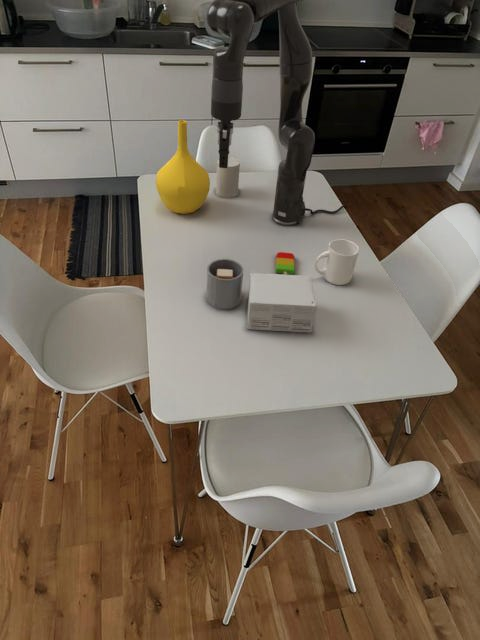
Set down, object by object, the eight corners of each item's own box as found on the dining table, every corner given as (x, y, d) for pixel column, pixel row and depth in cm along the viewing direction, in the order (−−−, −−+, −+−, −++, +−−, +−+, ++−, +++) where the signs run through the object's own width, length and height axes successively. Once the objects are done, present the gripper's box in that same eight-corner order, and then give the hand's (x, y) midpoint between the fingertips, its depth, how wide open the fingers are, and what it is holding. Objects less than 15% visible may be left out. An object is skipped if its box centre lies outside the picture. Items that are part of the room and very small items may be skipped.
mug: (308, 269, 154) (314, 239, 146) (346, 268, 155) (353, 238, 148) (315, 286, 147) (322, 256, 140) (354, 285, 149) (363, 255, 142)
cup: (237, 198, 185) (239, 167, 177) (215, 196, 184) (216, 165, 177) (238, 188, 191) (240, 157, 183) (216, 186, 191) (217, 156, 183)
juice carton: (231, 293, 141) (233, 269, 136) (231, 301, 139) (233, 276, 133) (215, 292, 141) (216, 268, 136) (215, 300, 139) (216, 275, 133)
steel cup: (241, 288, 144) (243, 259, 138) (240, 310, 137) (243, 281, 130) (207, 286, 144) (208, 257, 137) (205, 308, 137) (206, 278, 130)
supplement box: (307, 302, 142) (312, 275, 135) (311, 333, 132) (317, 306, 125) (247, 298, 141) (249, 271, 135) (247, 329, 131) (249, 302, 125)
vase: (219, 206, 179) (223, 121, 160) (186, 226, 168) (185, 137, 148) (180, 189, 187) (179, 107, 167) (146, 207, 175) (140, 121, 156)
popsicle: (293, 257, 158) (294, 252, 157) (294, 286, 147) (295, 281, 145) (276, 256, 158) (276, 251, 157) (275, 284, 147) (276, 279, 145)
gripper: (242, 107, 117) (237, 173, 127) (242, 88, 127) (238, 150, 138) (209, 105, 117) (208, 171, 127) (212, 86, 127) (211, 148, 138)
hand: (223, 160), depth 133 cm, fingers open, 8 cm apart
